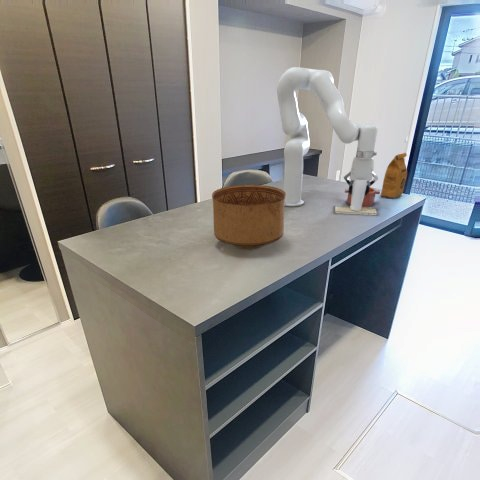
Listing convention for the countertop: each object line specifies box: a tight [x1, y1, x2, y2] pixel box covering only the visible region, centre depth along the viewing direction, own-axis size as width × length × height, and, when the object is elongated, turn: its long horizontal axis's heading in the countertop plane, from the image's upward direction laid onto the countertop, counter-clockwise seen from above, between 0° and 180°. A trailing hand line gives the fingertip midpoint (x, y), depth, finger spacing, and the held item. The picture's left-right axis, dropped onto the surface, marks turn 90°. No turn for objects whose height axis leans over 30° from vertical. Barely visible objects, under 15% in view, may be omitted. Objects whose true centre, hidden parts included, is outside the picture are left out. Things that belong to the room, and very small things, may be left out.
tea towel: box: [334, 205, 378, 216], centre depth 178 cm, size 20×12×1 cm, turn 77°
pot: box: [211, 184, 286, 250], centre depth 138 cm, size 28×28×20 cm
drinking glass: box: [349, 179, 367, 211], centre depth 174 cm, size 7×7×15 cm
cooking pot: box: [344, 187, 381, 207], centre depth 187 cm, size 18×14×7 cm
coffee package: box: [380, 152, 408, 199], centre depth 193 cm, size 10×12×22 cm
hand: (358, 194), depth 173 cm, fingers closed on drinking glass, 6 cm apart
